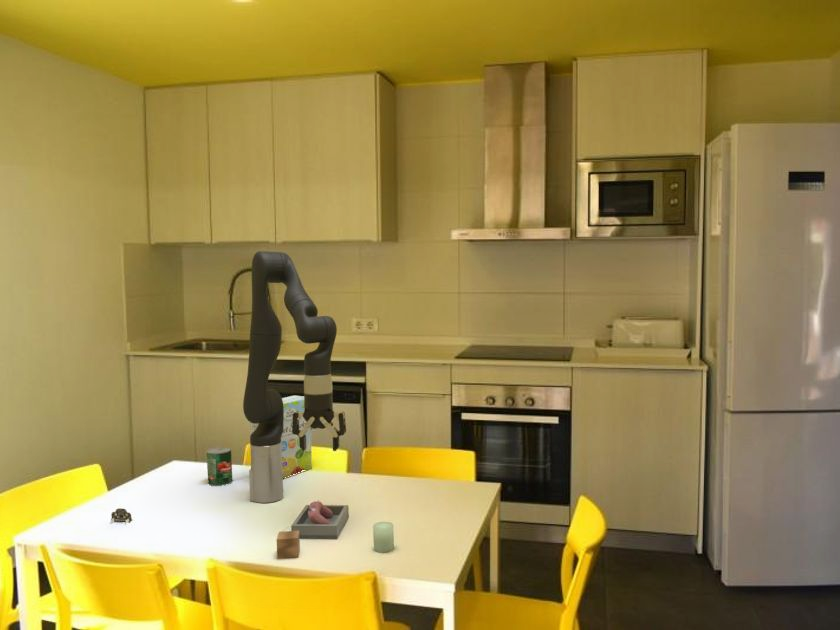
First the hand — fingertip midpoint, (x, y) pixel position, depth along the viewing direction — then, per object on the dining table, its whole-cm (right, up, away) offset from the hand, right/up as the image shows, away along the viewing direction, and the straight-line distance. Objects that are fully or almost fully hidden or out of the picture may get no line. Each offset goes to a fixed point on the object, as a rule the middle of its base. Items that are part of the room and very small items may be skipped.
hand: (319, 450), depth 195 cm
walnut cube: (-5, -22, -18) cm, 29 cm away
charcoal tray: (0, -21, 0) cm, 21 cm away
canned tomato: (-39, -19, +44) cm, 61 cm away
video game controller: (0, -20, 0) cm, 20 cm away
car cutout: (-53, -23, +7) cm, 58 cm away
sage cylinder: (+18, -22, -16) cm, 32 cm away
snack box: (-19, -18, +50) cm, 57 cm away
